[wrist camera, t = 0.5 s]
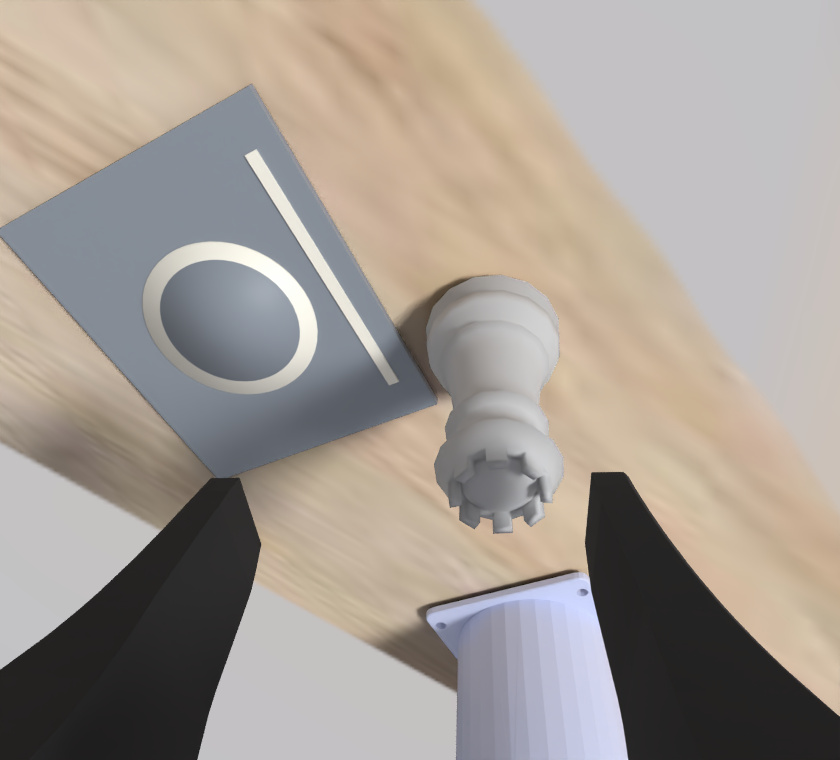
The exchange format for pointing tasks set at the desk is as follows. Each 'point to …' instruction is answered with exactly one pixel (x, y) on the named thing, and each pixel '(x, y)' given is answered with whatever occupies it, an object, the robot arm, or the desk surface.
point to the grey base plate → (224, 291)
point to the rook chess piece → (496, 399)
